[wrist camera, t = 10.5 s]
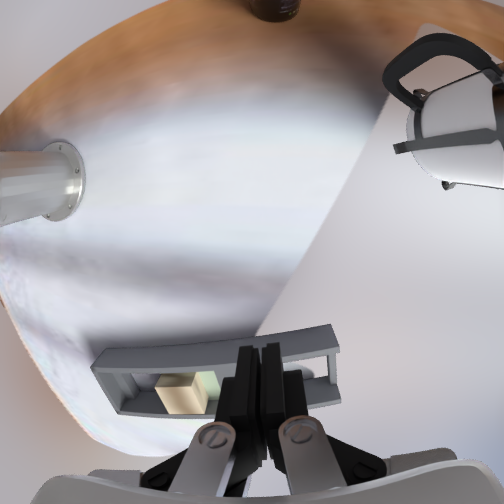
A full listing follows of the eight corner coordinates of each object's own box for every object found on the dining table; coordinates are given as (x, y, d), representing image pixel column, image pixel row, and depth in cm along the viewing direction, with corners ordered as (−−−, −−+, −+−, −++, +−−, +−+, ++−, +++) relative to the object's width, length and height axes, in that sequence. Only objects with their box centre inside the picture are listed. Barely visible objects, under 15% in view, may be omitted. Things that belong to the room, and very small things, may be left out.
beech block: (175, 398, 41) (169, 414, 37) (162, 371, 40) (154, 387, 36) (208, 396, 41) (204, 413, 37) (197, 369, 39) (191, 386, 35)
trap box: (129, 394, 45) (117, 414, 39) (105, 348, 43) (89, 367, 37) (334, 378, 41) (341, 403, 36) (330, 323, 39) (339, 346, 33)
